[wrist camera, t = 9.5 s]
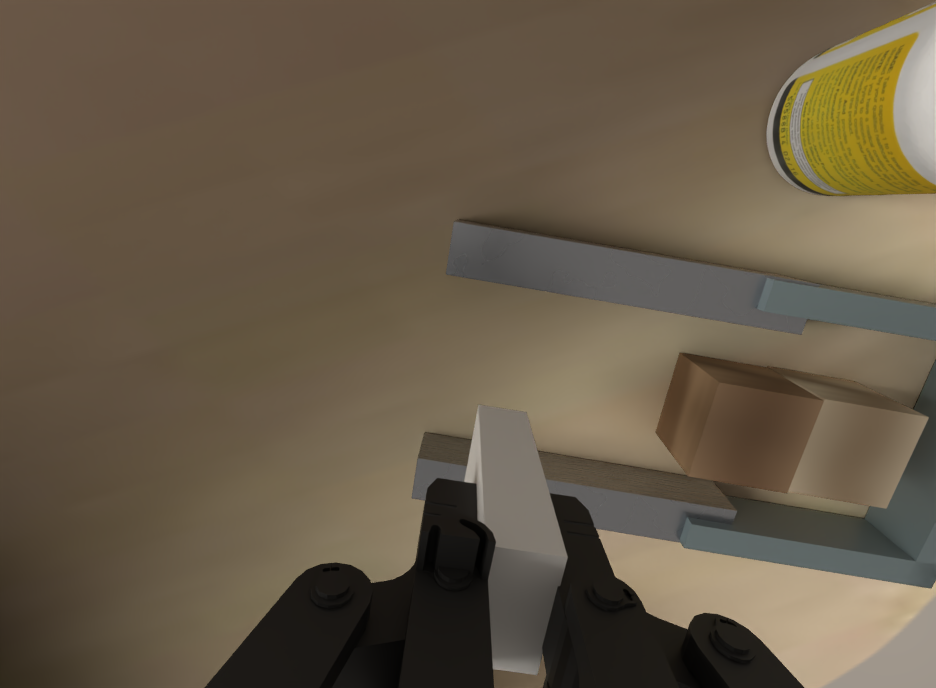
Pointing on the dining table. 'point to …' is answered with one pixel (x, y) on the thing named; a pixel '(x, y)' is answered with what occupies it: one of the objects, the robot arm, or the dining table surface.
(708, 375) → the brown cube
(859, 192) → the supplement bottle
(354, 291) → the dining table surface
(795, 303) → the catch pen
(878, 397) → the beige cube
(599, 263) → the slot rails
